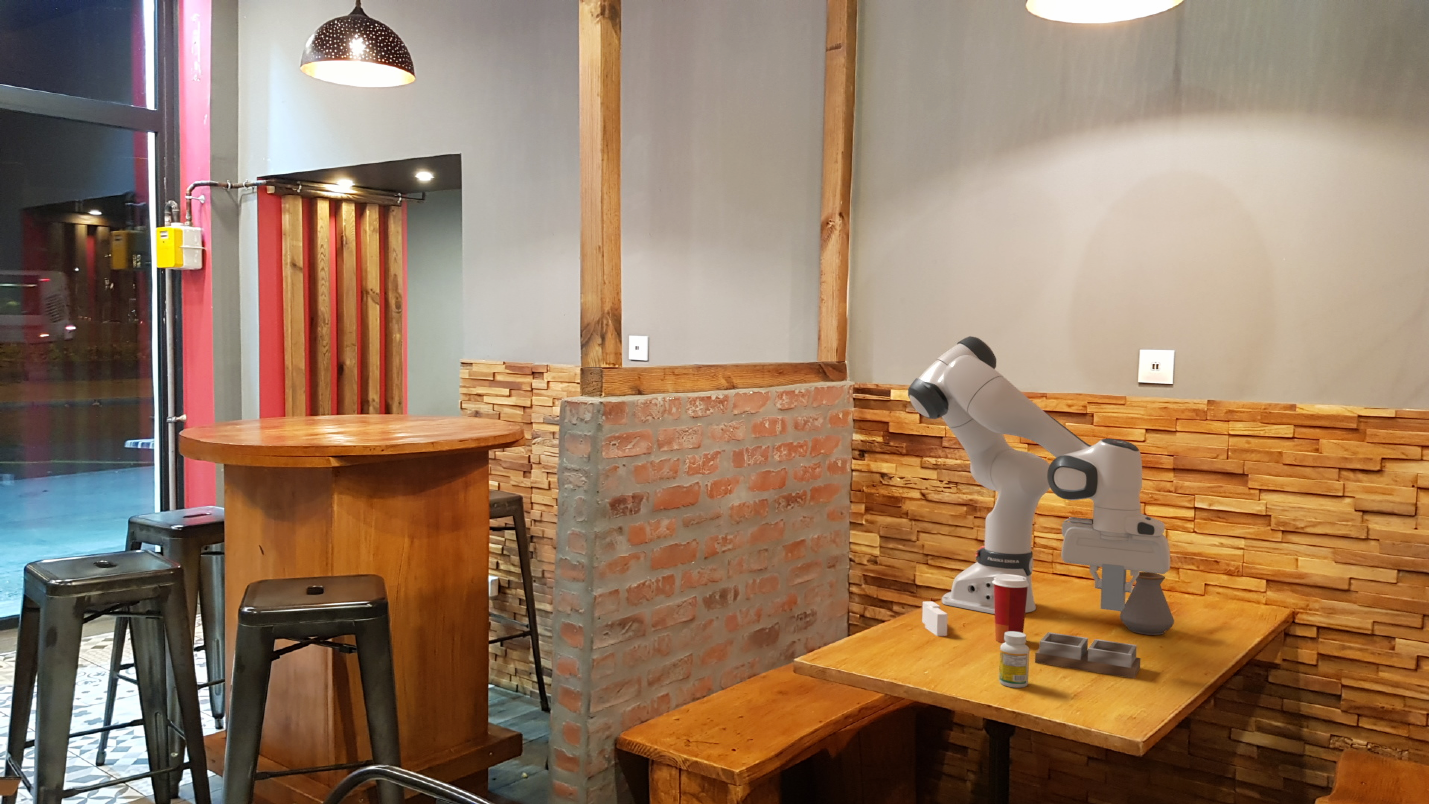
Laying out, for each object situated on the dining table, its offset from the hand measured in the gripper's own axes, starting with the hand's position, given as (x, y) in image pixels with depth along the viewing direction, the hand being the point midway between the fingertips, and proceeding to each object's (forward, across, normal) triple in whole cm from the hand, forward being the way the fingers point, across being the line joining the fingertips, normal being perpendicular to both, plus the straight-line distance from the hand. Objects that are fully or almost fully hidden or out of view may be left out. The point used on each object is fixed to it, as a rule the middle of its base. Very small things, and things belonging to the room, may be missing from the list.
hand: (1113, 590), depth 209 cm
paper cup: (+16, -22, +9) cm, 29 cm away
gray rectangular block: (+4, 0, 0) cm, 4 cm away
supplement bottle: (+16, -14, -20) cm, 29 cm away
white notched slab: (+17, -39, +10) cm, 44 cm away
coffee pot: (+16, +2, +40) cm, 43 cm away
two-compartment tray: (+16, -4, 0) cm, 17 cm away
